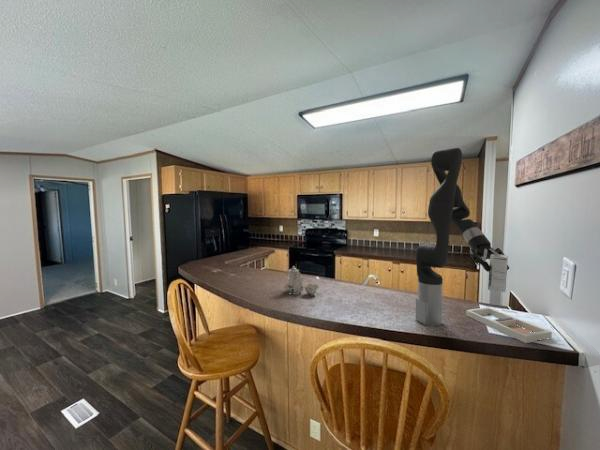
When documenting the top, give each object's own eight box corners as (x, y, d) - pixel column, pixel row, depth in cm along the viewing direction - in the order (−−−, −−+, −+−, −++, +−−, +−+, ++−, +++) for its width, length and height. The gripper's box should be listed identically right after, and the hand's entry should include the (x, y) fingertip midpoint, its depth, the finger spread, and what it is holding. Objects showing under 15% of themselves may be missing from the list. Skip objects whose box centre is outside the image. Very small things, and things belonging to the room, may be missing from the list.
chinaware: (323, 298, 144) (325, 269, 144) (299, 301, 134) (301, 270, 134) (296, 286, 167) (298, 261, 167) (274, 288, 157) (276, 262, 157)
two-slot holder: (525, 343, 90) (525, 335, 90) (465, 315, 114) (466, 309, 113) (551, 338, 93) (551, 331, 93) (488, 312, 116) (488, 306, 116)
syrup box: (488, 286, 109) (489, 253, 109) (506, 289, 106) (507, 255, 105) (487, 290, 105) (489, 255, 104) (506, 292, 101) (507, 257, 100)
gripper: (467, 234, 111) (489, 266, 101) (495, 233, 114) (519, 264, 103) (457, 245, 117) (477, 275, 106) (484, 244, 119) (506, 274, 109)
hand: (498, 270), depth 105 cm, fingers closed on syrup box, 8 cm apart
